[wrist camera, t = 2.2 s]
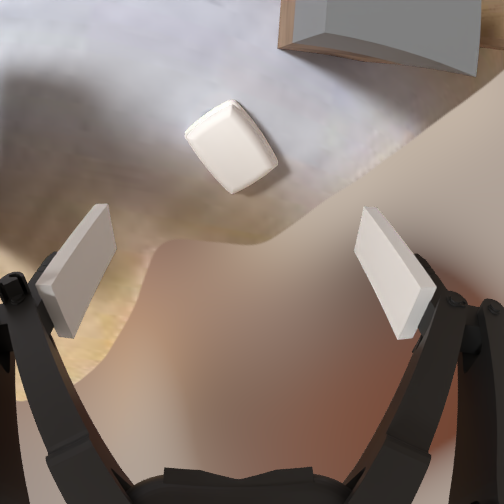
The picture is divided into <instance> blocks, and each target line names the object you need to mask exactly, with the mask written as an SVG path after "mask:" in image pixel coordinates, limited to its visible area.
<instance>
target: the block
mask: <svg viewBox="0 0 504 504" xmlns="http://www.w3.org/2000/svg"><path fill="white" fill-rule="evenodd" d="M479 47H484V48H492V49H499V50H504V0H481V29H480V44H479Z"/></svg>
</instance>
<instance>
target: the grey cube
mask: <svg viewBox="0 0 504 504" xmlns="http://www.w3.org/2000/svg"><path fill="white" fill-rule="evenodd" d="M480 29H481V0H296V2H295V16H294V29H293V42H292V43H296V44H304V45H312V46H318V47H325V48H331V49H337V50H342V51H347V52H352V53H357V54H362V55H366V56H371V57H375V58H379V59H383V60H387V61H391V62H395V63H399V64H402V65H407V66H415V67H423V68H430V69H436V70H442V71H448V72H453V73H458V74H463V75H468V76H473V77H476V73H477V65H478V55H479V44H480Z"/></svg>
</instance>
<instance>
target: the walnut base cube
mask: <svg viewBox="0 0 504 504" xmlns="http://www.w3.org/2000/svg"><path fill="white" fill-rule="evenodd" d="M295 2H296V0H281V8H280V22H279V35H278V48H277V49H287V50H296V51H304V52H312V53H319V54H325V55H331V56H337V57H343V58H348V59H353V60H358V61H363V62H376V63H388V64H398V65H402V64H399V63H395V62H391V61H387V60H383V59H379V58H375V57H371V56H366V55H362V54H357V53H352V52H347V51H342V50H337V49H331V48H325V47H318V46H312V45H304V44H296V43H292V42H293V29H294V16H295Z"/></svg>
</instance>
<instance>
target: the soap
mask: <svg viewBox="0 0 504 504" xmlns="http://www.w3.org/2000/svg"><path fill="white" fill-rule="evenodd" d="M185 138H186V140H187V141H188V143H189V144H190V146H191V147H192V149H193V150H194V152H195V153H196V155H197V156H198V158H199V159H200V160H201V162H202V163H203V164H204V165H205V167H206V168H207V169H208V171H209V172H210V173H211V174H212V175H213V176H214V178H215V179H216V180H217V181H218V182H219V183H220V184H221V185H222V186H223V187H224V188H225V189H226V190H227V191H228V192H229V193H231V194H234V193H236V192H238V191H240V190H242V189H244V188H246V187H248V186H250V185H251V184H253V183H254V182H256V181H258V180H259V179H261V178H262V177H264V176H265V175H266V174H268V173H269V172H270V171H272V170H273V169H274V168H275V167H276V166H277V165H278V160H277V158H276V156H275V154H274V152H273V150H272V148H271V147H270V145H269V143H268V141H267V140H266V138H265V137H264V135H263V134H262V132H261V131H260V129H259V128H258V126H257V125H256V124H255V122H254V121H253V120H252V119H251V117H250V116H249V115H248V114H247V112H246V111H245V110H244V109H243V108H242V107H241V106H240V105H239V103H238V102H237V101H235V100H228V101H226V102H224V103H222V104H220V105H219V106H217V107H215V108H213V109H212V110H211V111H209V112H208V113H206V114H205V115H204V116H202V117H201V118H199V119H198V120H197V121H196V122H195V123H193V124H192V125H191V126H190V127H189V128H188V129H187V130H186V132H185Z"/></svg>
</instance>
